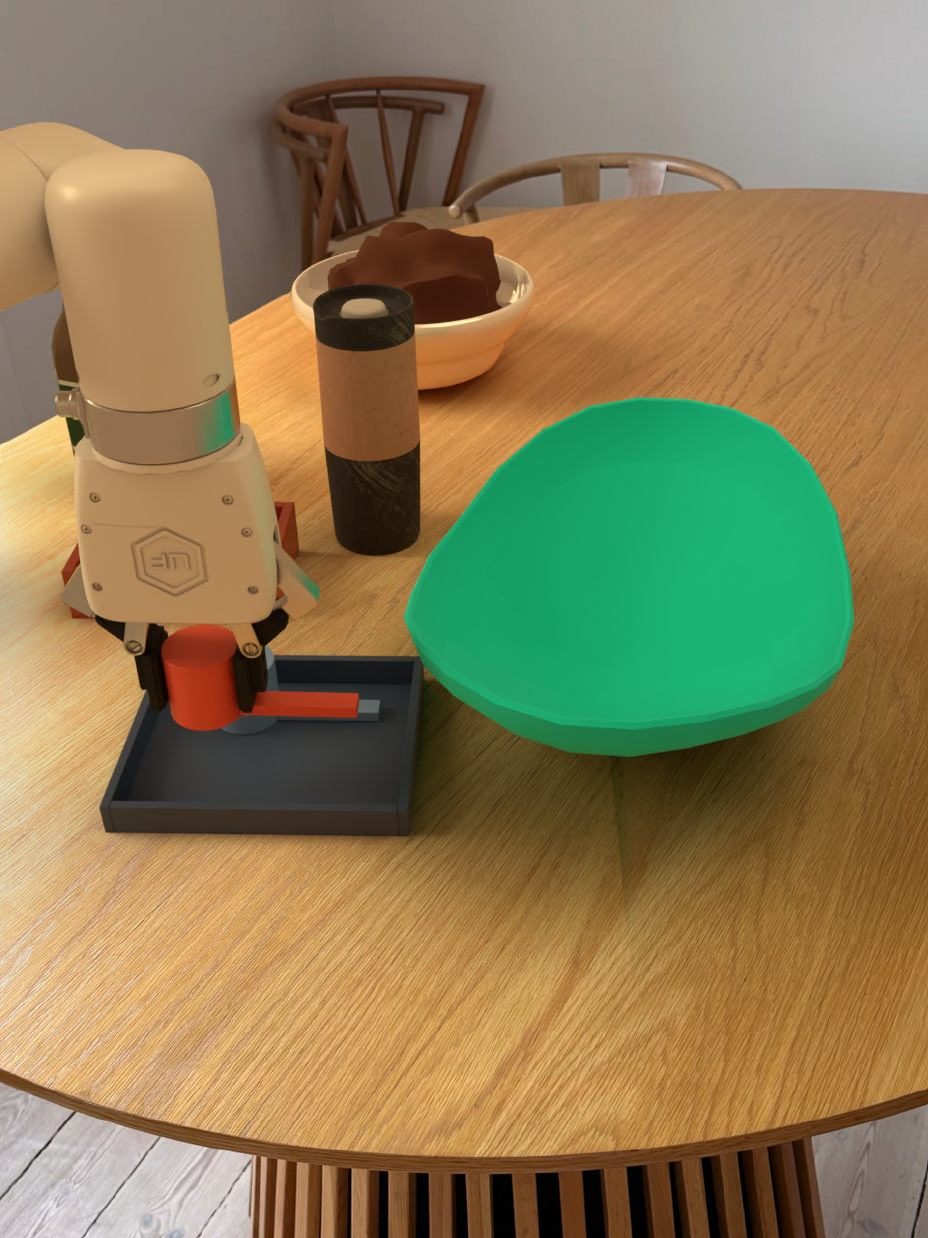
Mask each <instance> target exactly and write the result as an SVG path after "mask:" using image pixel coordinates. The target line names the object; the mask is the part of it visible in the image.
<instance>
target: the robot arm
mask: <svg viewBox="0 0 928 1238" xmlns="http://www.w3.org/2000/svg"><path fill="white" fill-rule="evenodd" d="M218 224H219V223H218V215H217V207H216V201H215V196H214V190H213V187H212V185H211V181H210V179H209V177H208V175H207V173H206V172H205V171H204V170H203V169H202V167H201V166H200V165H199V164H198V163H196V162H195V161H193V160H192V159H190V158H189V157H187V156H184V155H181V154H178V153H174V152H170V151H165V150H159V149H143V148H133V149H132V148H128V149H127V148H123V147H121V146H118V145H117V144H113V143H111V142H110V141H107V140H104V139H103V138H101V137H98V136H96V135H94V134H92V133H89V132H87V131H85V130H83V129H80V128H78V127H75V126H72V125H68V124H64V123H60V122H52V121H37V122H32V123H26V124H21V125H17V126H13V127H10V128H6V129H3V130H0V312H2V311H4V310H6V309H9V308H11V307H13V306H16V305H18V304H21V303H23V302H25V301H27V300H30V299H32V298H34V297H37V296H38V295H43V294H46V293H51V292H53V291H57V290H60V293H61V300H62V299H63V304H64V309H65V314H66V319H67V324H68V330H69V335H70V340H71V345H72V351H73V356H74V361H75V367H76V370H77V377H78V381H79V388H73V389H72V390H71V391H59V390H58V391H57V392H56V395H55V402H54V403H55V410H56V411H55V412H56V414H57V416H58V417H59V418H65V417H72V418H73V419H74V420H80V422H81V424H82V426H83V429H84V434H85V436H84V437H83V439H82V440H81V441H80V442H79V443H78V444H77V446H76V448H75V458H74V457H73V462H74V463H73V489H74V490H73V492H74V508H75V510H74V511H75V523H76V534H77V543H78V545H79V555H80V562H81V563H80V564H79V566H78V568H77V569H76V571H75V572H74V574H73V575H72V577H71V578H70V580H69V581H68V583H67V585H66V587H65V586H64V589H63V591H62V592H61V595H60V600H61V602H62V603H64V605H67V606H68V607H69V606H70V607H72V608H74V609H75V610H77V611H79V612H81V613H83V614H85V615H86V616H88V617H90V616H92V617H93V618H95V619H94V620H95V622H96V624H97V625H98V626H100V627H101V628H102V629H104V630H105V631H107V632H108V633H109V634H111V635H112V636H113V637H115V638H116V639H118V640H119V641H120V642H122V643H123V644H122V645H123V649H124V651H125V652H126V654H129V656H133V658H134V663H135V666H136V667H135V668H136V673H137V678H138V683H139V688H140V690H142V691H146V690H148V695H149V700H150V705H151V710H152V711H162V709H165V708H166V705H167V702H168V699H169V697H168V691H167V685H166V680H165V674H164V668H163V662H162V656H161V647H162V645H163V643H164V641H165V640H166V639H167V638H168V637H169V633H168V630H165V626H164V625H163V624H165V625H169V624H171V625H202V624H210V625H218V626H224V625H229V627H230V631H232V632H233V635H234V637H235V639H236V642H237V647H236V650H235V654H234V657H233V670H234V678H235V685H236V693H237V700H238V707H239V710H242V713H252V711H253V707H254V703H255V700H256V696H257V692H265V691H266V688H267V683H268V670H267V661H266V653H265V646H268V644H269V643H271V642H272V641H273V640H274V639H275V638H277V637H278V636H279V635H280V634H281V633H282V632H284V631H285V630H286V628H287V627H288V625H289V624H291V623H292V622H296V621H298V620H299V619H301V618H303V617H305V616H306V615H308V614H309V613H311V612H313V611H314V610H316V609H317V608H318V606H319V601H320V598H321V597H320V596H321V592H322V591H321V588H320V587H319V585H317V583H316V582H315V581H314V580H313V579H312V578H311V577H310V576H309V575H308V574H307V573H306V572H305V571H304V570H303V568H302V567H300V565H298V563H297V562H296V560H295V561H294V560H293V559H292V558H291V557H290V556H289V555H288V554H287V553H286V552H285V551H284V549H283V548H282V546H281V539H280V532H279V527H278V521H277V516H276V511H275V506H274V502H275V501H274V497H273V493H272V488H271V484H270V480H269V476H268V473H267V469H266V465H265V462H264V458H263V456H262V452H261V449H260V447H259V443H258V441H257V437H256V435H255V432H254V430H253V429H252V427H251V426H250V425H249V424H247V423H244V422H241V416H240V415H241V414H240V408H239V407H240V406H239V398H238V397H239V396H238V389H237V381H236V374H235V364H234V356H233V348H232V347H233V346H232V339H231V337H232V336H231V330H230V319H229V312H228V311H229V310H228V304H227V294H226V287H225V276H224V269H223V259H222V251H221V242H220V233H219V226H218ZM99 586H100V587H99ZM277 586H278V588H279V589H280V590H281V591H282V592H283V593H284V596H283V597H281V598H276V593H277ZM70 607H69V608H70ZM158 624H162V625H158Z"/></svg>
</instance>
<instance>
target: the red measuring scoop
mask: <svg viewBox="0 0 928 1238" xmlns="http://www.w3.org/2000/svg"><path fill="white" fill-rule="evenodd" d="M236 647H237V642H236V639H235V637H234V635H233V632H232V630H231V629H229V628H227V627H224V626H223V625H215V624H193V625H190V626H186V627H183V628H180V629H178V630H176V631H175V632H173V633H171V634H170V635H168V638H167V639H166V640H165V641H164V643H163V645H162V647H161V656H162V662H163V668H164V674H165V680H166V685H167V691H168V697H169V703H170V708H171V714H172V717H173V719H174V720H175V721H176V722H177V723H178V724H179V725H181V726H183V727H185V728H188V729H191V730H198V731H207V730H214V729H219V728H222V727H225V726H227V725H229V724H231V723H233V722H234V721H236V720H237V719H238V718H239V717H240V716H241V715H261V716H300V717H339V718H357V714H358V708H359V694H358V693H325V692H286V691H265V692H257V696H256V700H255V703H254V707H253V711H252V713H242V710H239V707H238V700H237V693H236V685H235V678H234V670H233V657H234V654H235V650H236Z"/></svg>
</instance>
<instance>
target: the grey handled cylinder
mask: <svg viewBox="0 0 928 1238" xmlns="http://www.w3.org/2000/svg"><path fill="white" fill-rule="evenodd" d="M265 653H266V661H267V670H268V683H267V688H266V691H279V689H278V681H277V673H276V666H275V658H274V655H275V653H274V652H273V650H272V649H271V647H269V646H268V645H266V646H265ZM380 714H381V701H380V700H359V708H358V714H357V718H339V717H300V716H261V715H241V716H240V717H239V718H238V719H237V720H236V721H234V722H233V723H231V724H229V725H227V726H225V727H222V728H221V729H223V730H224V731H226V732H229V733H232V734H238V735H247V734H254V733H258V732H261V731H263V730H266V729H267V728H269V727H271V726H272V725H273V724H274V723H275V722H276V721H277V720H295V721H379V720H380Z"/></svg>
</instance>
